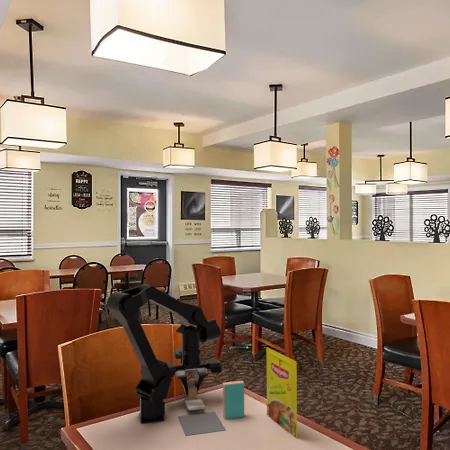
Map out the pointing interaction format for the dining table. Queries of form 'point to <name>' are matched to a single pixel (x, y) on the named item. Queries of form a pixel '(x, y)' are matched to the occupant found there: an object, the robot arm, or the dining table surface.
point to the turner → (193, 397)
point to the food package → (282, 390)
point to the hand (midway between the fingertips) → (191, 395)
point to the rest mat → (201, 423)
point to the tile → (233, 399)
